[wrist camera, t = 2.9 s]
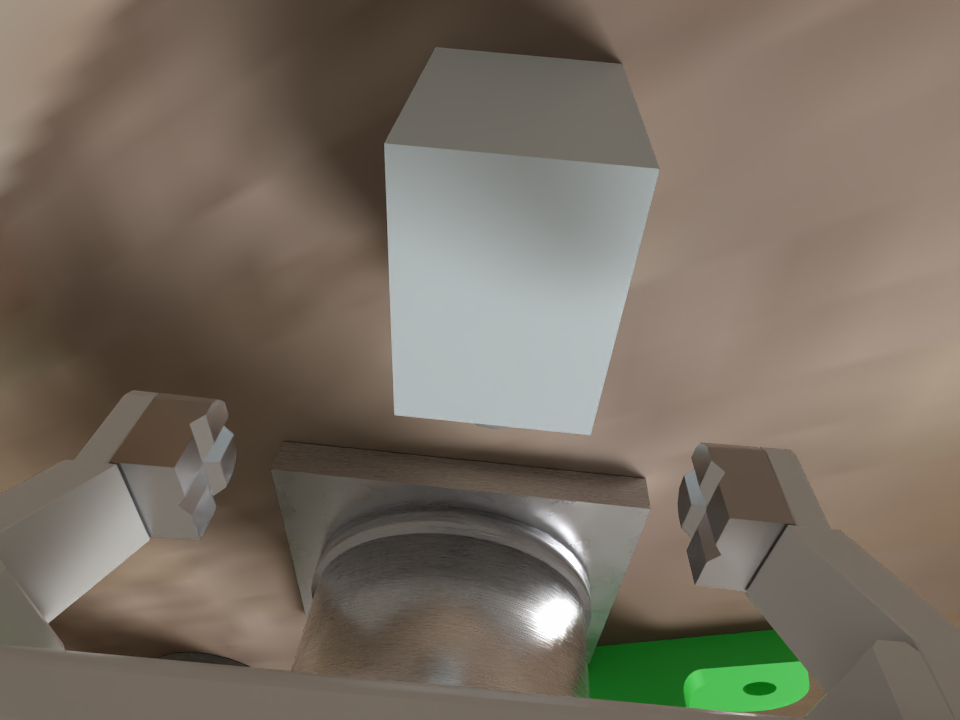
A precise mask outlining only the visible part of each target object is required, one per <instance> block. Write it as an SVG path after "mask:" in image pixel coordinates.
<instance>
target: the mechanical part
mask: <svg viewBox="0 0 960 720" xmlns="http://www.w3.org/2000/svg"><path fill="white" fill-rule="evenodd" d="M588 682H589V698H590V699H601V700H612V701H623V702H634V703H644V704H655V705H666V706H677V707H688V708H699V709H709V710H720V711H731V712H747V711H762V710H770V709H776V708H780V707H784V706H787V705H790V704H792V703H794V702H796V701H798V700H800V699H801V698H803V697H804V696H805V695H806V694H807V692H808V691H809V678H808V671H807V669H806V668H805V667H804V666H803V665H802V663H801V662H800V661H799V660H798V658H797V657H796V656H795V655H794V653H793V652H792V651H791V650H790V648H789V647H788V646H787V645H786V644H785V642H784V641H783V640H782V639H781V637H780V636H779V635H778V634H777V632H776V631H775V630H764V631H754V632H743V633H733V634H722V635H711V636H701V637H690V638H680V639H669V640H659V641H648V642H638V643H627V644H617V645H606V646H596V648H595V650H594V653H593V655H592V658H591V660H590V663H589V666H588Z"/></svg>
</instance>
